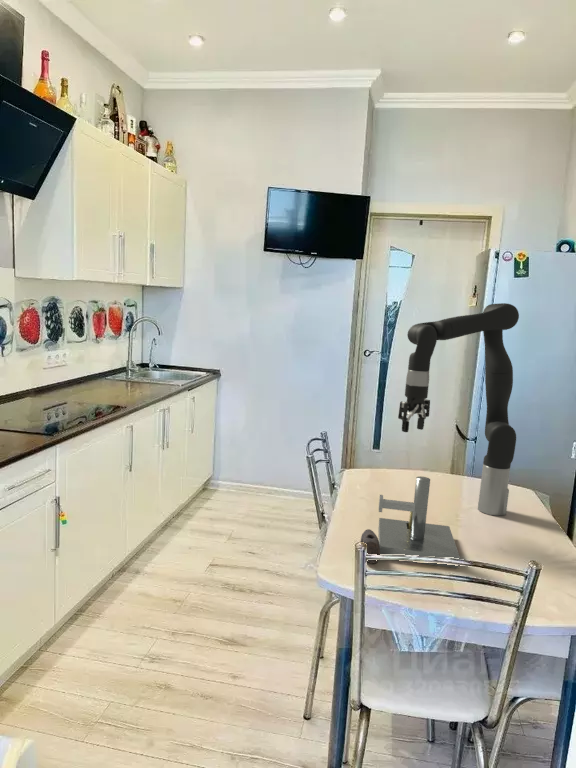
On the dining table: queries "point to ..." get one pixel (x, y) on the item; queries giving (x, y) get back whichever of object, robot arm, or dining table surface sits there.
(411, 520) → the yellow rectangular block
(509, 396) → the robot arm
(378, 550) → the perforated stone tool
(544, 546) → the dining table surface
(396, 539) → the rosette post
